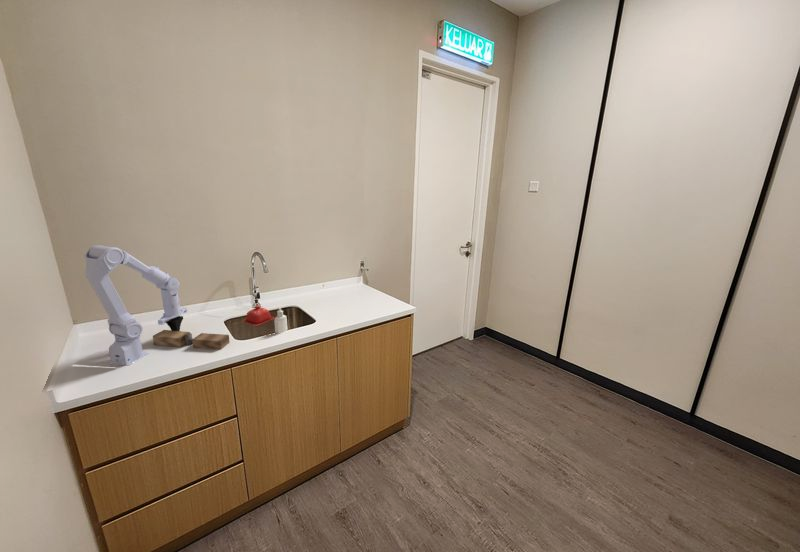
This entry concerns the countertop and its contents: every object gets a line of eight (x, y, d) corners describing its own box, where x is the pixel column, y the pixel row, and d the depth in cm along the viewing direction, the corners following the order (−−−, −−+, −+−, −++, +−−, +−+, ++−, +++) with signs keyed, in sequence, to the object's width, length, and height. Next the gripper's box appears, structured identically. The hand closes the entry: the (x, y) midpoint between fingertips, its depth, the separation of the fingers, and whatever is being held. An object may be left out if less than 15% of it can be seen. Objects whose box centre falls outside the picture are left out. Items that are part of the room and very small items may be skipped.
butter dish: (241, 323, 164) (239, 306, 161) (261, 315, 173) (259, 300, 171) (256, 328, 158) (254, 311, 156) (276, 320, 168) (275, 304, 165)
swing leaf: (197, 341, 143) (196, 331, 142) (187, 347, 137) (185, 337, 136) (165, 338, 145) (164, 328, 144) (154, 344, 139) (152, 334, 138)
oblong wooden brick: (229, 343, 142) (228, 334, 141) (221, 350, 136) (220, 341, 135) (202, 341, 143) (201, 333, 142) (193, 348, 137) (192, 339, 136)
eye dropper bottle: (288, 333, 153) (287, 308, 150) (276, 335, 150) (274, 310, 147) (286, 329, 157) (285, 305, 154) (274, 332, 154) (272, 307, 151)
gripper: (174, 297, 148) (179, 326, 152) (148, 309, 134) (154, 340, 138) (190, 298, 148) (194, 327, 151) (165, 310, 134) (170, 341, 138)
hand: (176, 333), depth 145 cm, fingers closed
